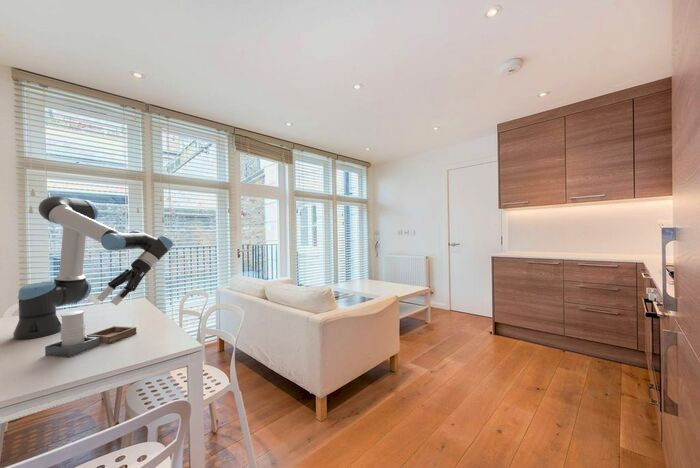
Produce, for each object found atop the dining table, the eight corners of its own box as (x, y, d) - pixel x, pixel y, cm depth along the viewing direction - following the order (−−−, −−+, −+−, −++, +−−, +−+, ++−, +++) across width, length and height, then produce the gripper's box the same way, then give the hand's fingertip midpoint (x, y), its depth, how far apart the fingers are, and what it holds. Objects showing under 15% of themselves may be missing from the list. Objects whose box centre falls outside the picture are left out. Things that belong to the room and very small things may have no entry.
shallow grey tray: (45, 355, 109) (45, 346, 109) (77, 344, 120) (77, 336, 120) (68, 357, 107) (68, 348, 107) (99, 345, 118) (99, 337, 118)
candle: (75, 346, 117) (74, 310, 117) (89, 347, 116) (89, 310, 116) (55, 353, 110) (55, 315, 110) (71, 354, 109) (70, 315, 109)
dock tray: (86, 342, 122) (86, 335, 122) (114, 332, 134) (114, 326, 134) (110, 343, 120) (110, 336, 120) (136, 333, 132) (136, 327, 132)
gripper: (165, 269, 132) (127, 310, 119) (137, 266, 144) (100, 303, 131) (152, 259, 127) (112, 300, 114) (124, 257, 139) (85, 293, 126)
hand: (105, 301), depth 122 cm, fingers open, 13 cm apart
